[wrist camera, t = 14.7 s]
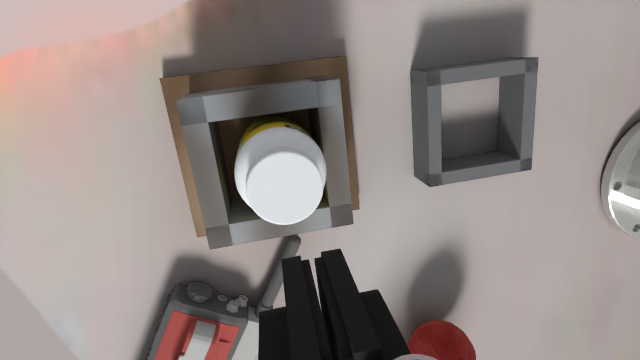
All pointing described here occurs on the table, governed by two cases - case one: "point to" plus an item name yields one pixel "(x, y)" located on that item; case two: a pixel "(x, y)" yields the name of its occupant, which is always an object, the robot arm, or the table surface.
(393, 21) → the table surface
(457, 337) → the onion
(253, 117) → the socket
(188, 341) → the walkie-talkie
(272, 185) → the supplement bottle
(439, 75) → the frame
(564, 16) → the table surface
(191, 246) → the table surface
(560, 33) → the table surface
